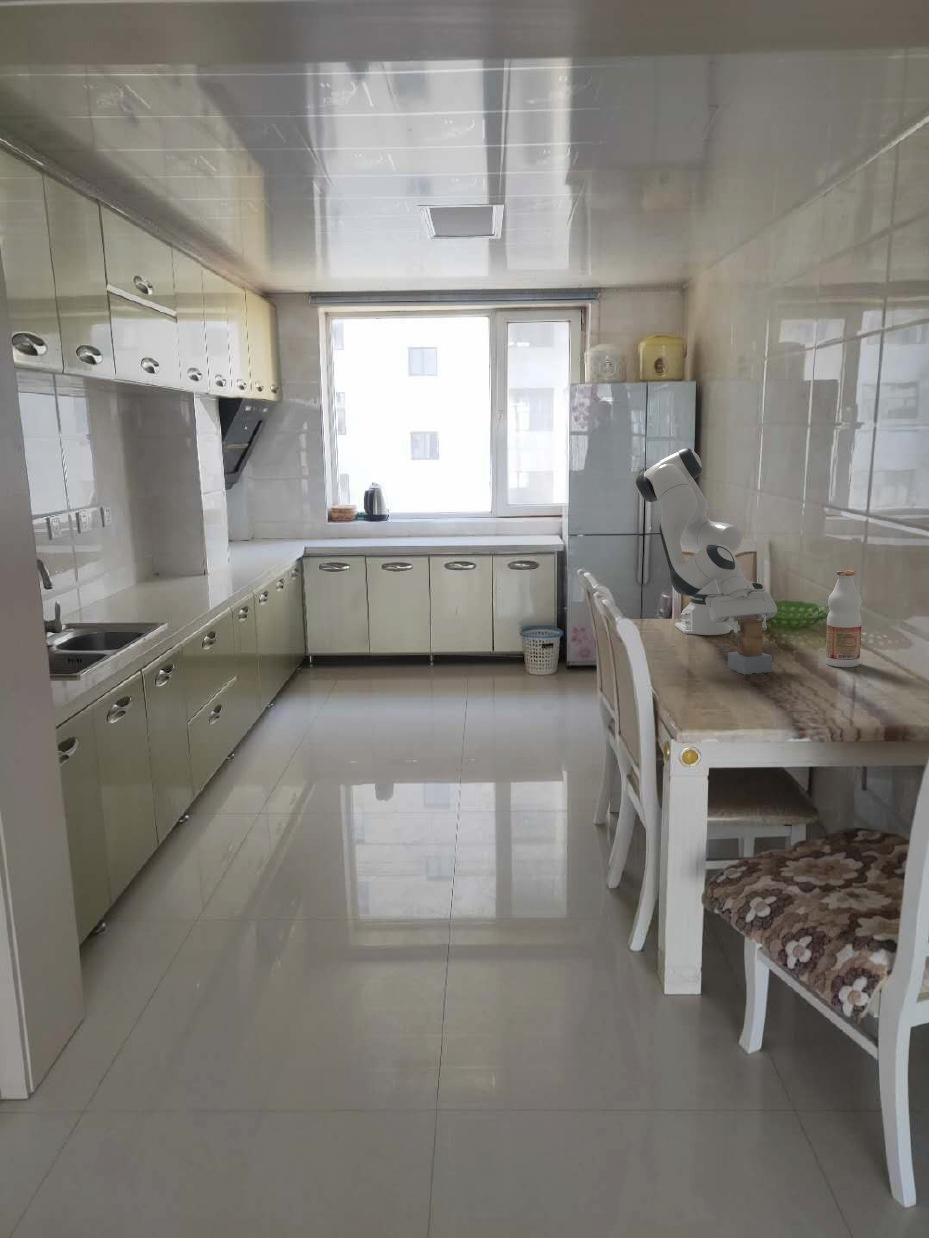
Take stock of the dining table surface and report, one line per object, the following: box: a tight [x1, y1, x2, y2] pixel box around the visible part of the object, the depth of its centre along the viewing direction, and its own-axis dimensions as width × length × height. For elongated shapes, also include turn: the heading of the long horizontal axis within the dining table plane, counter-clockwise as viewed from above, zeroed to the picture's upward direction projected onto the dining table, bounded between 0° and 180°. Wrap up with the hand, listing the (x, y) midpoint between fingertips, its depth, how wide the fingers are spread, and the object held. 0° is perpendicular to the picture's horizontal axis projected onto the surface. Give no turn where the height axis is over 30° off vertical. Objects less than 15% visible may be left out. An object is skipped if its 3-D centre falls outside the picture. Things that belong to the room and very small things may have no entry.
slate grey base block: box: [727, 650, 773, 676], centre depth 266 cm, size 9×9×5 cm
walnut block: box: [737, 619, 763, 657], centre depth 265 cm, size 5×5×10 cm
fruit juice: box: [825, 569, 863, 668], centre depth 266 cm, size 9×9×28 cm
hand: (751, 630), depth 264 cm, fingers open, 7 cm apart
